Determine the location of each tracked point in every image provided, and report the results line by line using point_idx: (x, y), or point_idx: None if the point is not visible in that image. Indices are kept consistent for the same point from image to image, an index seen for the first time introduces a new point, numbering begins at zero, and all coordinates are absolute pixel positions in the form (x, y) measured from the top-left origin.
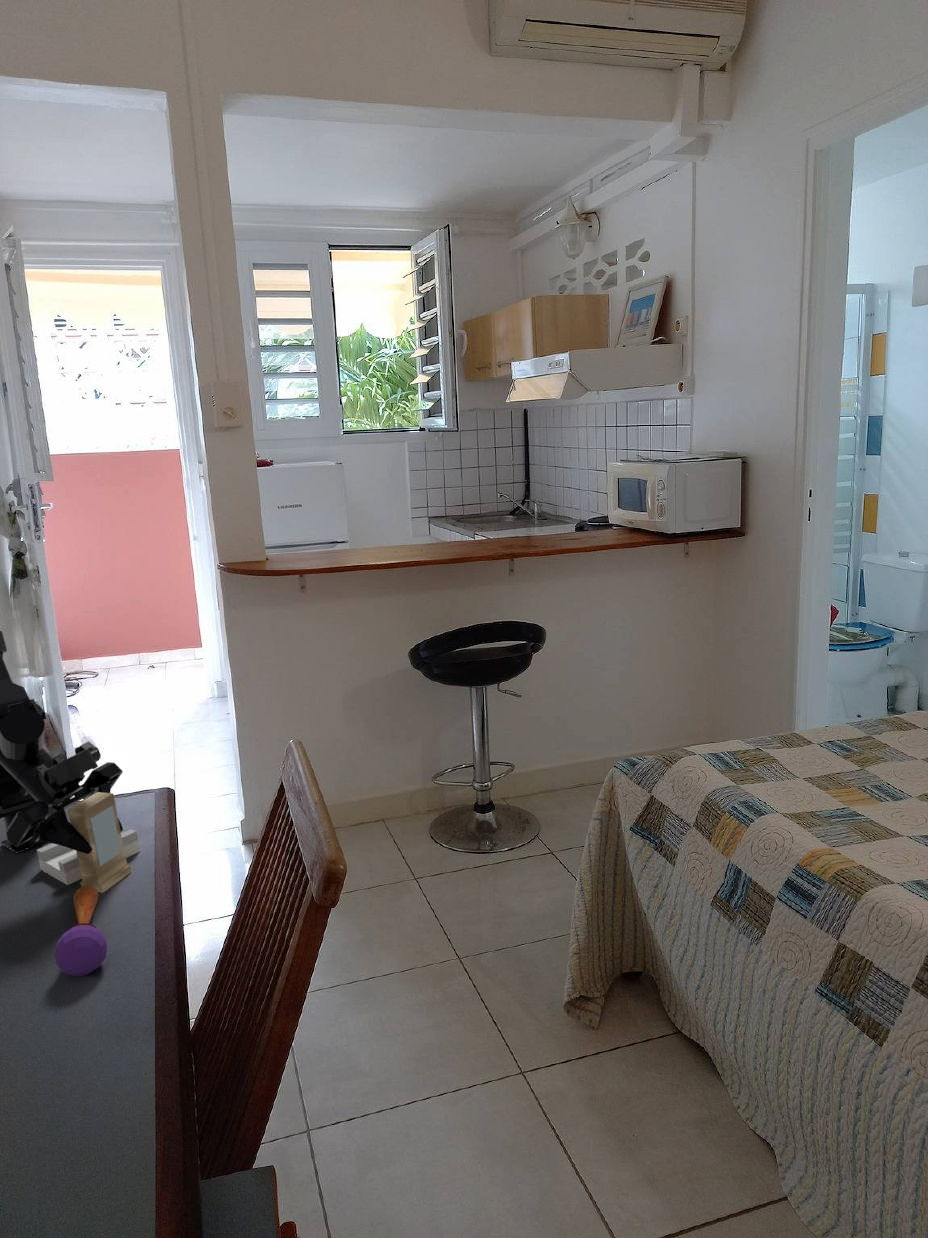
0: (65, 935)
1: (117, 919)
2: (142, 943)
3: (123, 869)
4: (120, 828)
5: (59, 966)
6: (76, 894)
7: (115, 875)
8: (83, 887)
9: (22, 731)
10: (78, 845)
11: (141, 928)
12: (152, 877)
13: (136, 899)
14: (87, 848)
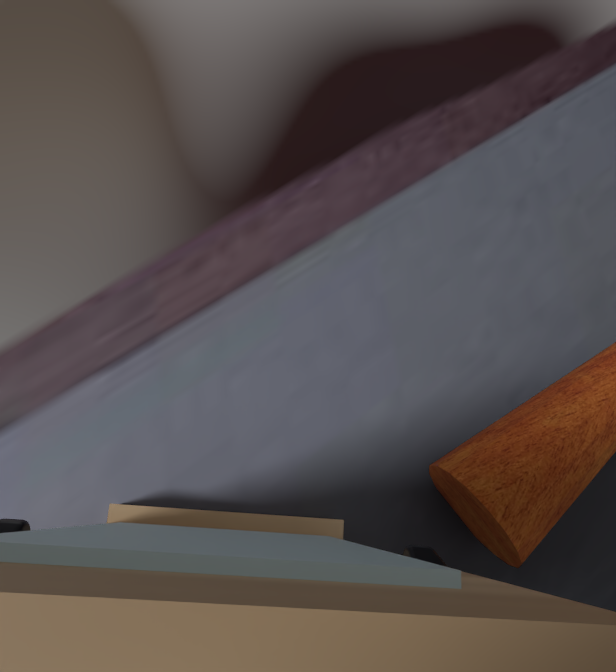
0: None
1: (509, 295)
2: (604, 117)
3: (163, 508)
4: (20, 527)
5: None
6: (545, 525)
7: (232, 512)
8: (506, 511)
9: None
10: None
11: (534, 167)
12: (165, 347)
13: (360, 306)
14: None
